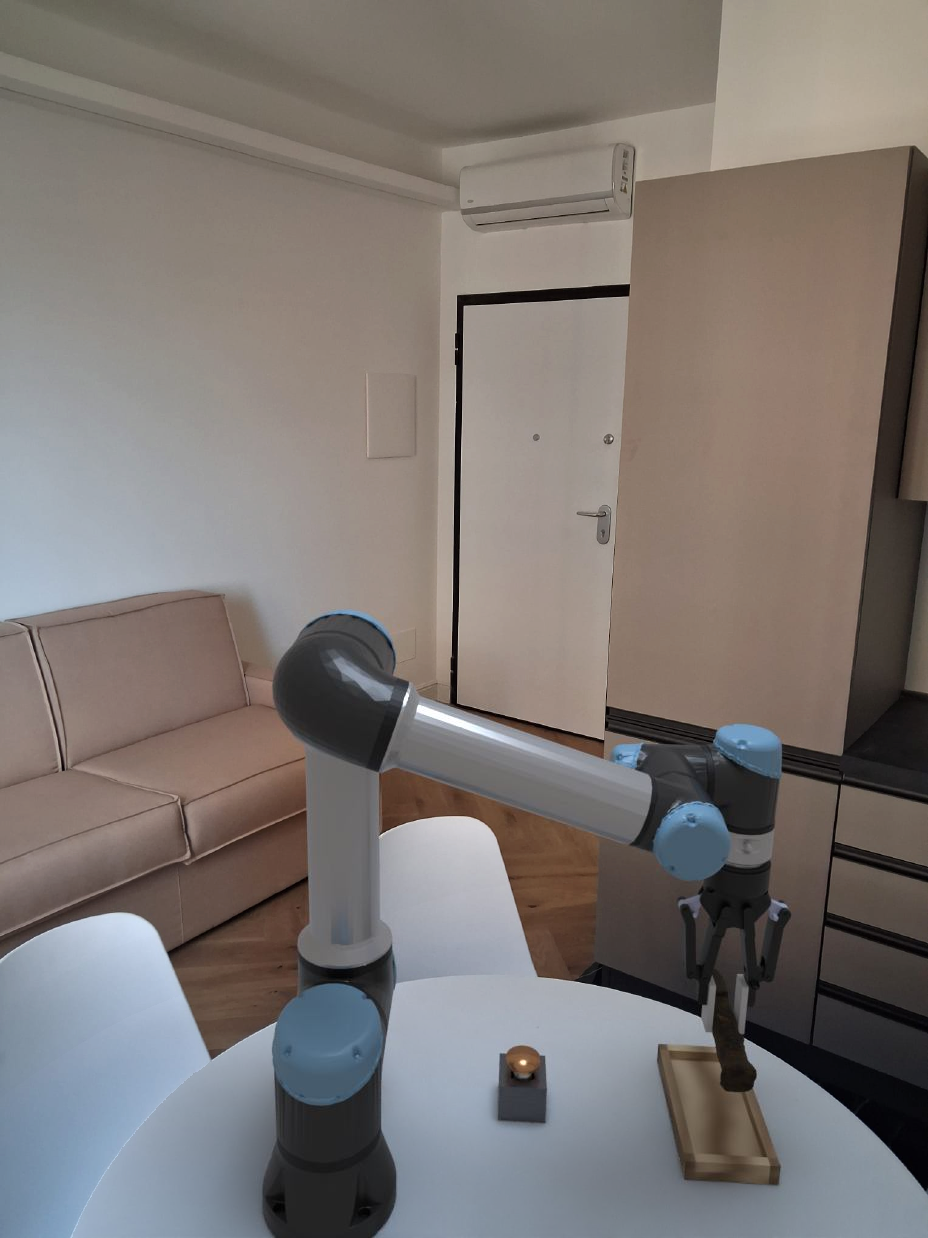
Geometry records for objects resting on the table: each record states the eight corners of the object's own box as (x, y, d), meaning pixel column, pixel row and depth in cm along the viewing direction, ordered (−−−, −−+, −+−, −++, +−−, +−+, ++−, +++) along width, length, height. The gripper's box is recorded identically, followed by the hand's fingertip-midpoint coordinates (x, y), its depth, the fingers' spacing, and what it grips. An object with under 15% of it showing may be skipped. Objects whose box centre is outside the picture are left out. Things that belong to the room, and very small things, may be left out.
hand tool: (755, 1097, 103) (758, 1062, 102) (719, 1094, 104) (722, 1059, 103) (730, 993, 122) (732, 963, 121) (699, 991, 122) (701, 960, 121)
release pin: (504, 1114, 115) (505, 1068, 114) (504, 1089, 119) (506, 1044, 118) (538, 1116, 115) (541, 1070, 113) (537, 1091, 119) (539, 1046, 118)
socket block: (497, 1120, 114) (499, 1086, 113) (498, 1085, 120) (499, 1053, 119) (545, 1123, 114) (546, 1089, 113) (543, 1088, 120) (545, 1055, 119)
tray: (683, 1179, 106) (685, 1161, 106) (657, 1060, 126) (658, 1044, 125) (778, 1185, 106) (780, 1166, 105) (736, 1064, 125) (738, 1048, 124)
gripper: (675, 867, 104) (661, 1043, 109) (818, 873, 103) (797, 1050, 109) (664, 837, 111) (652, 1003, 117) (798, 842, 110) (779, 1009, 116)
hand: (722, 1025), depth 113 cm, fingers closed on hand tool, 3 cm apart
